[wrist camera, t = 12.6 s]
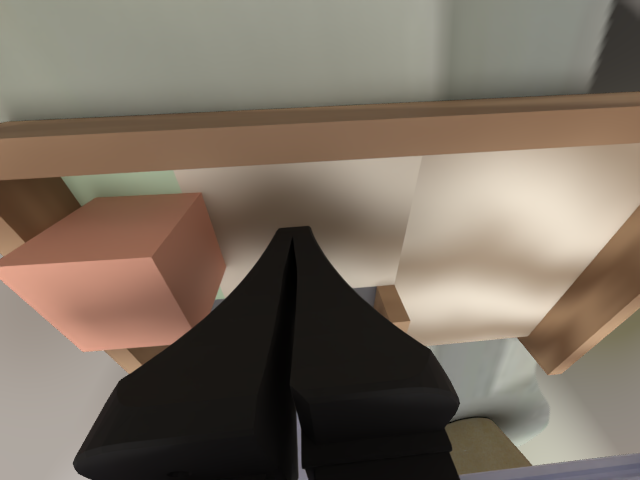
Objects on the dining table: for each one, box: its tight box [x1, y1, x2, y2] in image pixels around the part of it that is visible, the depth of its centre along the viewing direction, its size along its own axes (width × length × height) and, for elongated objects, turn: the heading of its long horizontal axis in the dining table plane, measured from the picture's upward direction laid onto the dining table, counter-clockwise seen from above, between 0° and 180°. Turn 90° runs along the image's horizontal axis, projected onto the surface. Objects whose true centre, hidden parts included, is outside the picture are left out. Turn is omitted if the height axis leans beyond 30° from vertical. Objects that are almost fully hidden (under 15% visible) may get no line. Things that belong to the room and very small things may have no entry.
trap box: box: [0, 91, 640, 375], centre depth 12 cm, size 17×27×3 cm, turn 92°
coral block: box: [0, 192, 226, 352], centre depth 9 cm, size 4×4×4 cm
